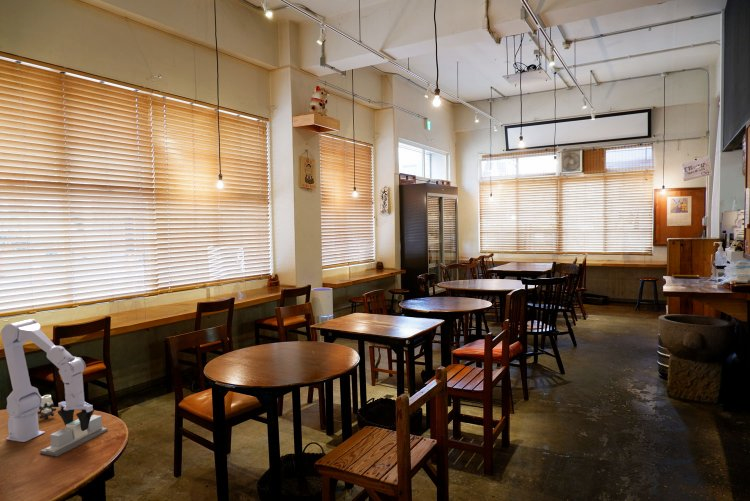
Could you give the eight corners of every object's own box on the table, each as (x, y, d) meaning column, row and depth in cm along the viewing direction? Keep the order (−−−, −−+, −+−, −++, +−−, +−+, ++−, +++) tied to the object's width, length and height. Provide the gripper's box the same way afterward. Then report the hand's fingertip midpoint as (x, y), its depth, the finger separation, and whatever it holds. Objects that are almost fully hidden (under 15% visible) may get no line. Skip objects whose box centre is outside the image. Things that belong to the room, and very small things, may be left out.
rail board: (40, 453, 161) (39, 437, 161) (91, 428, 180) (90, 413, 180) (57, 456, 159) (55, 440, 158) (107, 430, 178) (106, 415, 177)
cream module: (66, 438, 168) (65, 424, 168) (79, 431, 173) (78, 418, 173) (74, 439, 167) (73, 425, 167) (87, 433, 172) (86, 419, 171)
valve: (38, 411, 198) (37, 421, 188) (36, 396, 198) (35, 405, 188) (56, 407, 202) (56, 417, 192) (55, 393, 201) (55, 401, 191)
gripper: (49, 394, 168) (52, 431, 169) (79, 398, 163) (81, 435, 164) (67, 387, 174) (70, 422, 175) (96, 391, 170) (99, 427, 171)
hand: (77, 428), depth 170 cm, fingers open, 7 cm apart
